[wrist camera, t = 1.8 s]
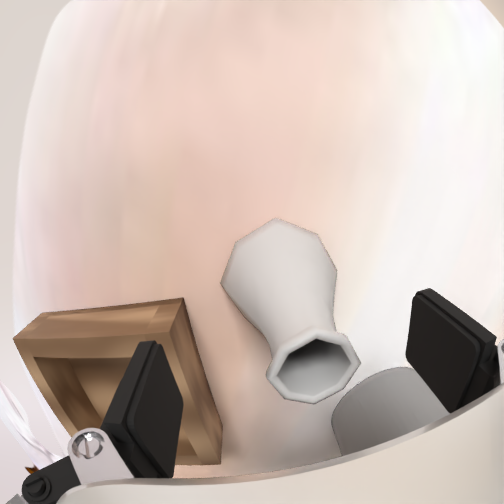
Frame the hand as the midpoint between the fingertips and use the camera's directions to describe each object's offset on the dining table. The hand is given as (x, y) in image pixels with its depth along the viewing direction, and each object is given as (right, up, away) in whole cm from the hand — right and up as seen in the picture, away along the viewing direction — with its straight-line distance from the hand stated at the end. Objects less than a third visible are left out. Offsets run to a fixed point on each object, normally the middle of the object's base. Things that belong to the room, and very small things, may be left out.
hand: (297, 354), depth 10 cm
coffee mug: (+12, -11, +13) cm, 21 cm away
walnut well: (-12, -7, +11) cm, 17 cm away
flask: (0, +2, +9) cm, 10 cm away
